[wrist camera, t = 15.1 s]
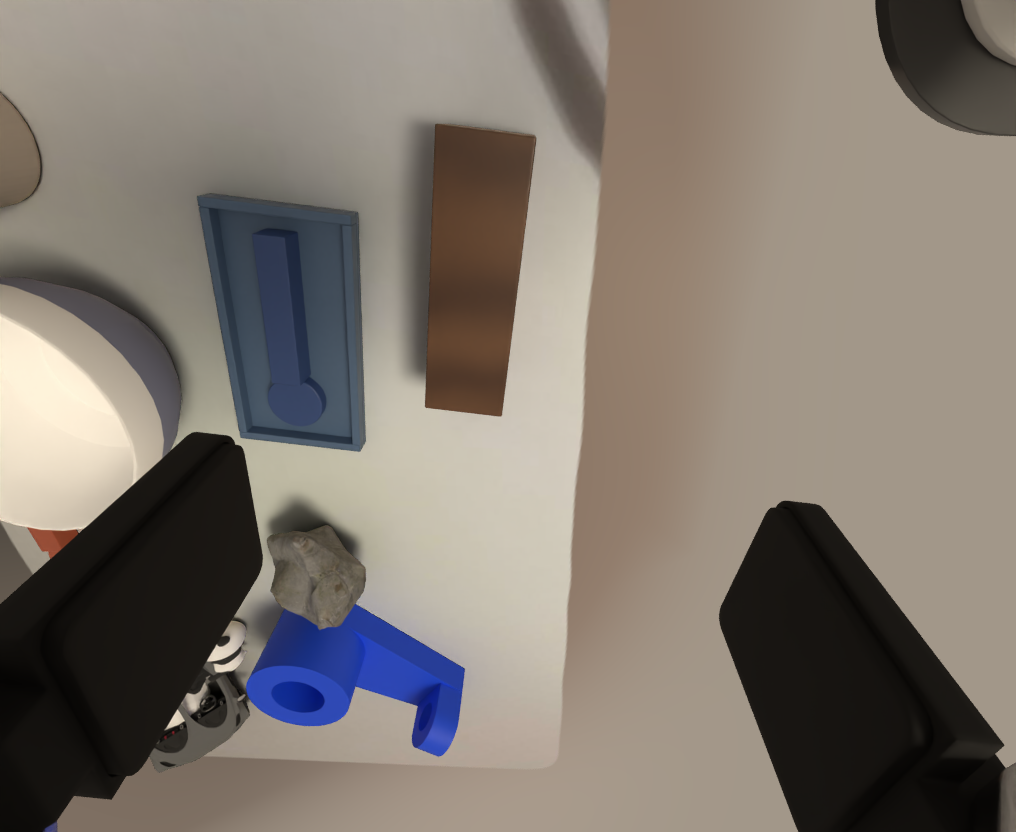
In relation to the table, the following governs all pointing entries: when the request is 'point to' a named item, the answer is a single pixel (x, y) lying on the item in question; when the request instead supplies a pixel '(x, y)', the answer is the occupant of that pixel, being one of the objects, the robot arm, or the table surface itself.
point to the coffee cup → (16, 156)
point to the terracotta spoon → (52, 539)
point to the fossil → (315, 575)
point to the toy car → (206, 707)
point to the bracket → (355, 675)
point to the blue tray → (327, 311)
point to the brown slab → (475, 263)
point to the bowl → (77, 404)
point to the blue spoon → (286, 328)
